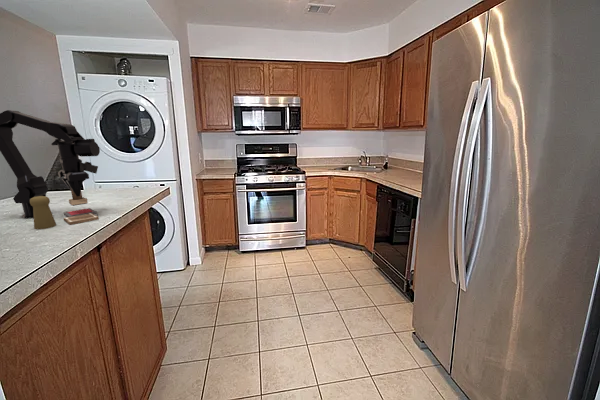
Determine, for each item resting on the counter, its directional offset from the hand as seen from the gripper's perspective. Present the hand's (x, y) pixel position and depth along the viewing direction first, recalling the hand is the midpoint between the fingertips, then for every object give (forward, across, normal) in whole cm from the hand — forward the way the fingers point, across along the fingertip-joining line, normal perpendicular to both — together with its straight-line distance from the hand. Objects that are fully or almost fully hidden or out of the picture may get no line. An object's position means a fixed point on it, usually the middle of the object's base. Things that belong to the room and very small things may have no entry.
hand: (77, 195), depth 116 cm
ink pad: (+8, 0, 0) cm, 8 cm away
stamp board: (+8, -10, +2) cm, 13 cm away
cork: (+8, -10, +13) cm, 18 cm away
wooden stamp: (+3, 0, 0) cm, 3 cm away
